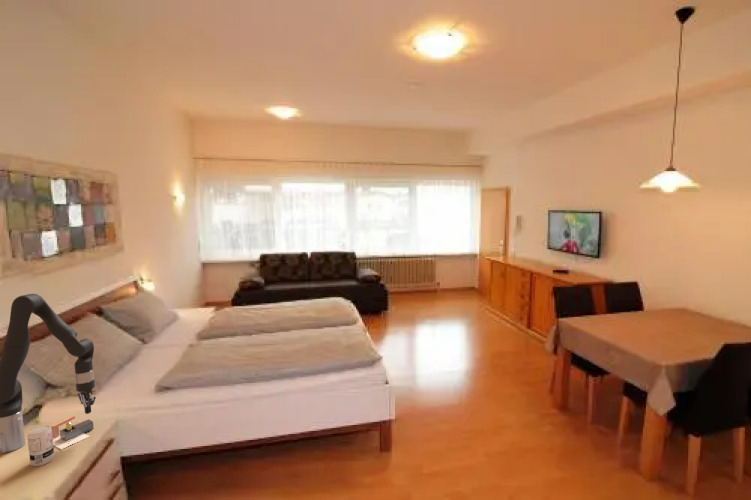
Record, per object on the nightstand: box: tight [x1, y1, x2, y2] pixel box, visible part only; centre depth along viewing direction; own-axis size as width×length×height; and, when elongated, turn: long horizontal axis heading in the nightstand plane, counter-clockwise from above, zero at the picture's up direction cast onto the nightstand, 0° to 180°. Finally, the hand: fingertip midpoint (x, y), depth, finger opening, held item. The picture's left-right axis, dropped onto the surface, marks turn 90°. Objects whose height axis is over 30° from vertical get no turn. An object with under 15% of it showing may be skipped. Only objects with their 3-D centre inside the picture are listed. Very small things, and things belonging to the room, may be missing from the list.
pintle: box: [65, 421, 73, 432], centre depth 191 cm, size 2×2×8 cm
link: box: [59, 419, 94, 441], centre depth 194 cm, size 12×6×4 cm, turn 151°
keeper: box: [50, 415, 76, 438], centre depth 195 cm, size 10×2×6 cm, turn 164°
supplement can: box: [27, 425, 55, 467], centre depth 172 cm, size 8×8×15 cm
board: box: [53, 432, 91, 451], centre depth 190 cm, size 12×18×1 cm
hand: (88, 412), depth 191 cm, fingers closed
